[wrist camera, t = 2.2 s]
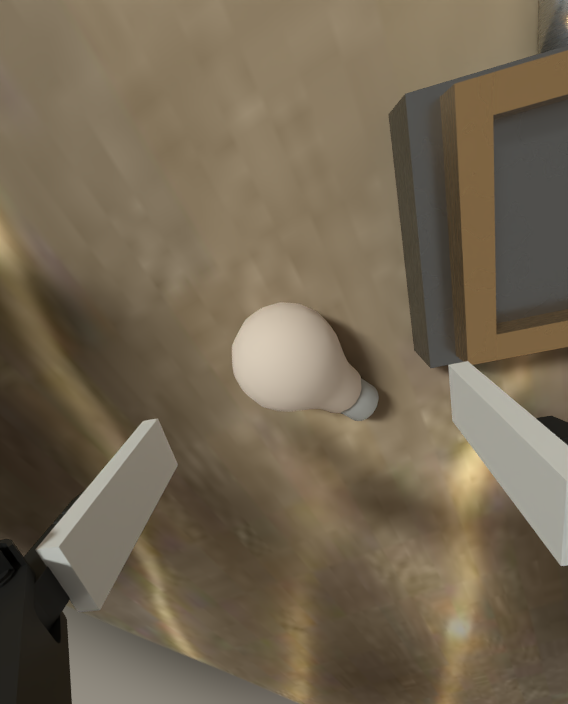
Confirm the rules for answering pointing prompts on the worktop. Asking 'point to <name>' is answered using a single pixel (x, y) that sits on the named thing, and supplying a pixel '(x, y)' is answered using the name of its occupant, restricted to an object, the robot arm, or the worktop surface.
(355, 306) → the worktop surface
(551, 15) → the grey brown-rimmed square tray
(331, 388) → the light bulb
